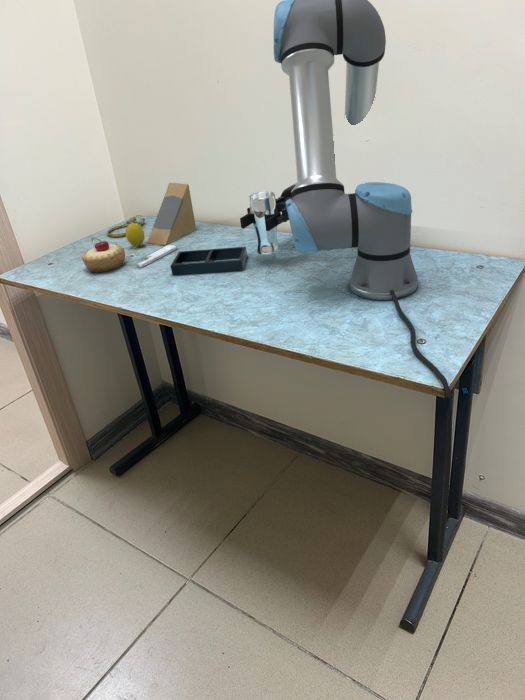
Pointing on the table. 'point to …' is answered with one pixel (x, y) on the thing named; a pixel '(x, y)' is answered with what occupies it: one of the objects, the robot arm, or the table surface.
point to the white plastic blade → (157, 255)
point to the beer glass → (260, 211)
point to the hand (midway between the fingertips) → (254, 224)
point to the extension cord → (125, 226)
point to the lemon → (135, 234)
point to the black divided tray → (209, 261)
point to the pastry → (103, 257)
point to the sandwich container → (173, 216)
